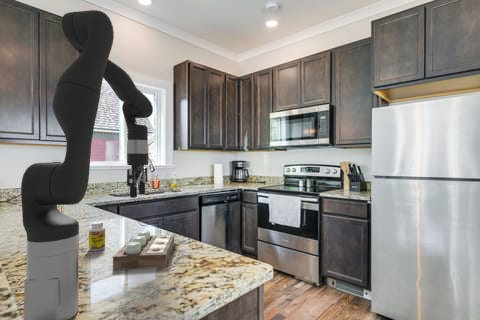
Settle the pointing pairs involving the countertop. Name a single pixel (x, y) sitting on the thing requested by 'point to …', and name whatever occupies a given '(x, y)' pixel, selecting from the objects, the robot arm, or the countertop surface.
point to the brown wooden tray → (146, 254)
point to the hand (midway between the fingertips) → (138, 195)
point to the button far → (145, 234)
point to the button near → (133, 248)
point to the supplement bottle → (96, 236)
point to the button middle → (140, 240)
